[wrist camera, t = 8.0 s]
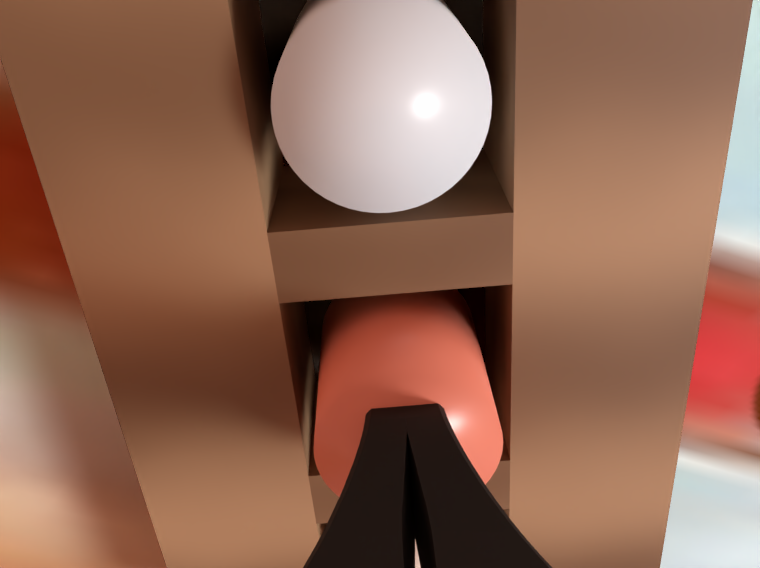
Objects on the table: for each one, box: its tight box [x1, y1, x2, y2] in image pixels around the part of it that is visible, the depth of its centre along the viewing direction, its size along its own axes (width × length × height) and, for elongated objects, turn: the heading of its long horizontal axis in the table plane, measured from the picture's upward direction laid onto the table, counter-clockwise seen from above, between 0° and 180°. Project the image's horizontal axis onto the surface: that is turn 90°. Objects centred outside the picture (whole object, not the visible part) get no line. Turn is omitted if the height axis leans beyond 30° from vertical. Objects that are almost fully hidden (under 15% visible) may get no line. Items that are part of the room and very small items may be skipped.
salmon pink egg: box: [313, 289, 503, 497], centre depth 15 cm, size 4×4×4 cm
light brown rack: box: [0, 0, 753, 568], centre depth 17 cm, size 19×12×4 cm, turn 4°
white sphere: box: [271, 0, 492, 213], centre depth 13 cm, size 4×4×4 cm
